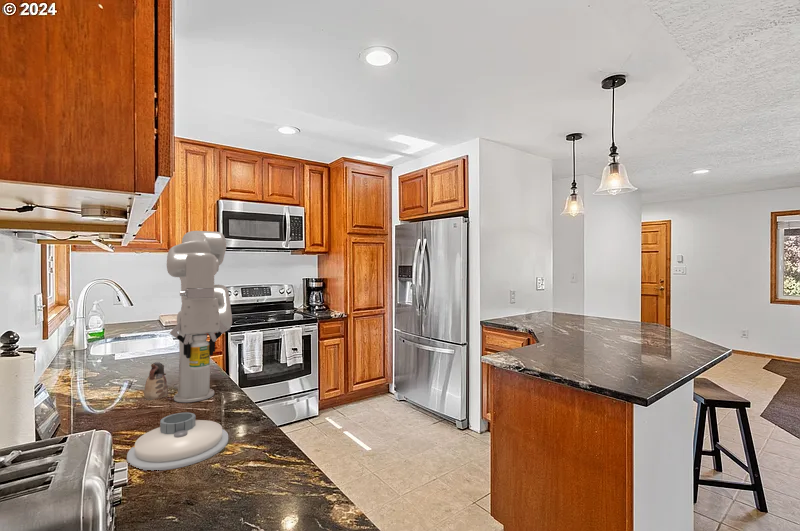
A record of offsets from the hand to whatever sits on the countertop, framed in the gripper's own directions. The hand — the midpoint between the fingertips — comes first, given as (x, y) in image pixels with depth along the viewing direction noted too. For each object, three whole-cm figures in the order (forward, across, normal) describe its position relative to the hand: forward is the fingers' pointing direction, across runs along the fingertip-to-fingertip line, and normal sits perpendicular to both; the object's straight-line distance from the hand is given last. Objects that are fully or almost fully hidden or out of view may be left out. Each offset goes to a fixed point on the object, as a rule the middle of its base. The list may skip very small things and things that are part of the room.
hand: (199, 355), depth 112 cm
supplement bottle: (+4, 0, 0) cm, 4 cm away
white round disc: (+19, -7, -15) cm, 25 cm away
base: (+20, -6, -14) cm, 25 cm away
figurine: (+19, -8, +35) cm, 41 cm away
